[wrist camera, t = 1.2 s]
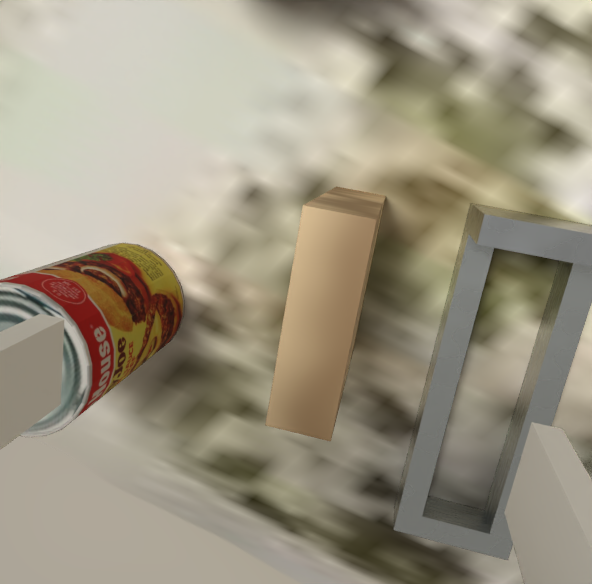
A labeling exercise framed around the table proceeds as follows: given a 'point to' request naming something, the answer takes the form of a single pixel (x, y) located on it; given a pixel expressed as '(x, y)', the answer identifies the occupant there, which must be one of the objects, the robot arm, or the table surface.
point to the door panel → (323, 310)
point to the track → (536, 386)
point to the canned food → (97, 319)
